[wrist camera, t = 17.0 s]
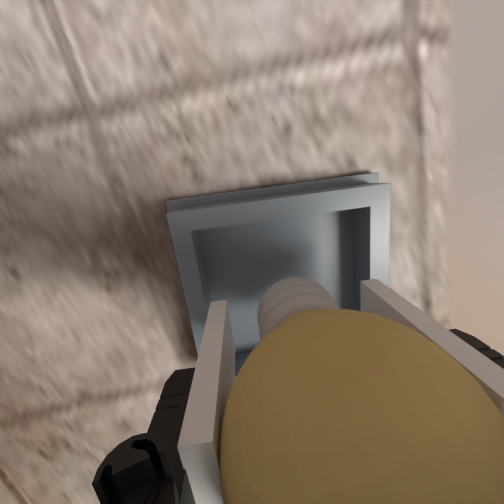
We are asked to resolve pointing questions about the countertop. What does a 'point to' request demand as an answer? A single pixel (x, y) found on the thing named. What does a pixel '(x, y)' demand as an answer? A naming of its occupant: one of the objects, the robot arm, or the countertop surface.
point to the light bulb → (354, 413)
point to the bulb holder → (278, 246)
